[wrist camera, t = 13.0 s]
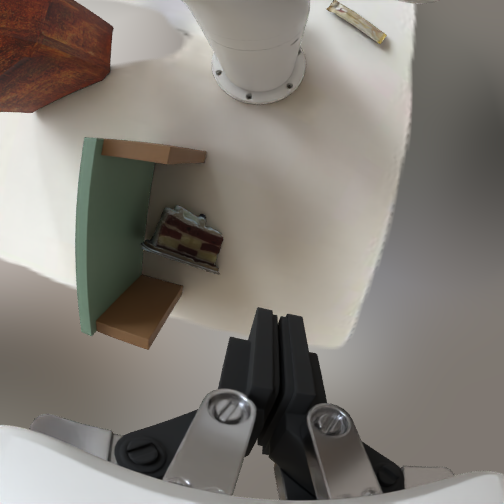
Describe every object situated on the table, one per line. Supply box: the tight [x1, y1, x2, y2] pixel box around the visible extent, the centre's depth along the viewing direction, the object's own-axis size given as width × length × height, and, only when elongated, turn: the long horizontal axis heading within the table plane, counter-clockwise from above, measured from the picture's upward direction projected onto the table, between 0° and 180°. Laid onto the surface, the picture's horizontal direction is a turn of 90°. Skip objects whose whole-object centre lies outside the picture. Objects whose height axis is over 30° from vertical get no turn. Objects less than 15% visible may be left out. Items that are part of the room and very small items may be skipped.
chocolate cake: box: [140, 205, 223, 274], centre depth 38 cm, size 10×7×12 cm
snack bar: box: [326, 0, 387, 44], centre depth 27 cm, size 10×2×3 cm
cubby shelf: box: [75, 137, 207, 350], centre depth 31 cm, size 22×9×16 cm, turn 167°
